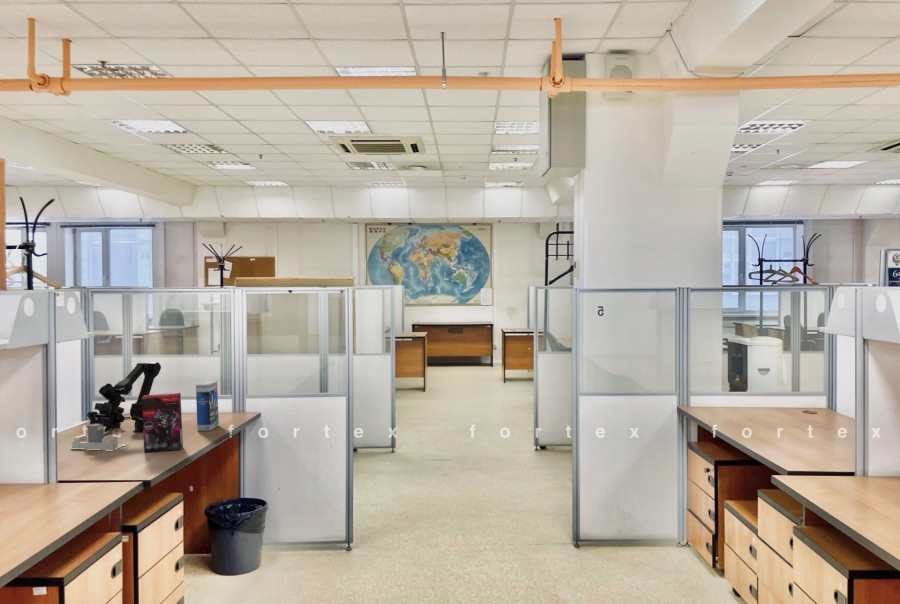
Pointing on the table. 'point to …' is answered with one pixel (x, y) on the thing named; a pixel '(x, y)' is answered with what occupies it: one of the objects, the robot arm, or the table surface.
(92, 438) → the module
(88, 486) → the table surface
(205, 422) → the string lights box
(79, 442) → the rail plate
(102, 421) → the black flat block
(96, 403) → the robot arm
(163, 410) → the graphics card box
